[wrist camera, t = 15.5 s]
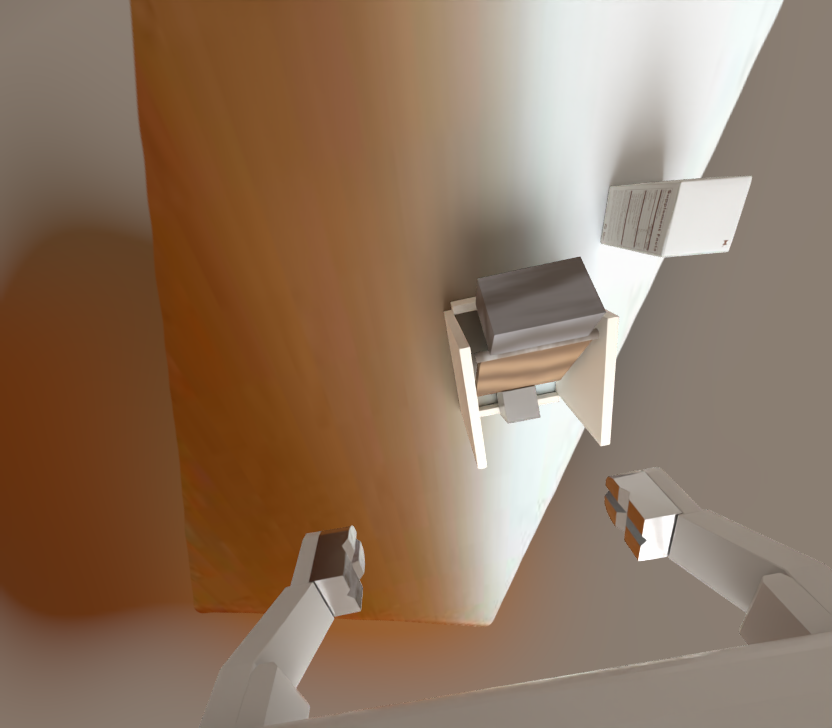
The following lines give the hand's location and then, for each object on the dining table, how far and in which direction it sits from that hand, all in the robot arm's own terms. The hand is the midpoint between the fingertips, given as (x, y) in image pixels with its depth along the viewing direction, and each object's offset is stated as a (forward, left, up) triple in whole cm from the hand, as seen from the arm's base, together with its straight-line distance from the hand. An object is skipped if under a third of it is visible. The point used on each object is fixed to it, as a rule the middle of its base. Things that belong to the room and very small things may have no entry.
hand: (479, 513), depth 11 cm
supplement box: (-1, +30, -41) cm, 50 cm away
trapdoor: (+7, +12, -35) cm, 38 cm away
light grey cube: (+22, +12, -35) cm, 43 cm away
